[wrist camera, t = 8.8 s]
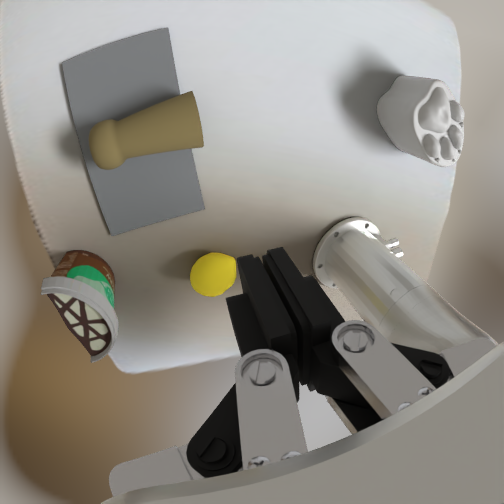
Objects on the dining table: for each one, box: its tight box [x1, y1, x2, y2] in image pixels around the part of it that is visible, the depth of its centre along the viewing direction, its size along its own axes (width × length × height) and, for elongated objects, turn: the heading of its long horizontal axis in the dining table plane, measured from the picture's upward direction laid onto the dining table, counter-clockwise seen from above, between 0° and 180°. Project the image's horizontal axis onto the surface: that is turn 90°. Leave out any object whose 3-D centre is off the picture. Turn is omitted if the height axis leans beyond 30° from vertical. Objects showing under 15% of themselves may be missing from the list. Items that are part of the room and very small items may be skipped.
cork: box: [89, 91, 204, 170], centre depth 25 cm, size 6×6×11 cm
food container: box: [41, 250, 119, 363], centre depth 31 cm, size 12×6×10 cm, turn 8°
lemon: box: [190, 253, 236, 297], centre depth 37 cm, size 7×5×5 cm
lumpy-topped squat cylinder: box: [377, 76, 464, 167], centre depth 32 cm, size 10×13×9 cm
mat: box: [62, 28, 205, 236], centre depth 27 cm, size 12×22×1 cm, turn 7°
